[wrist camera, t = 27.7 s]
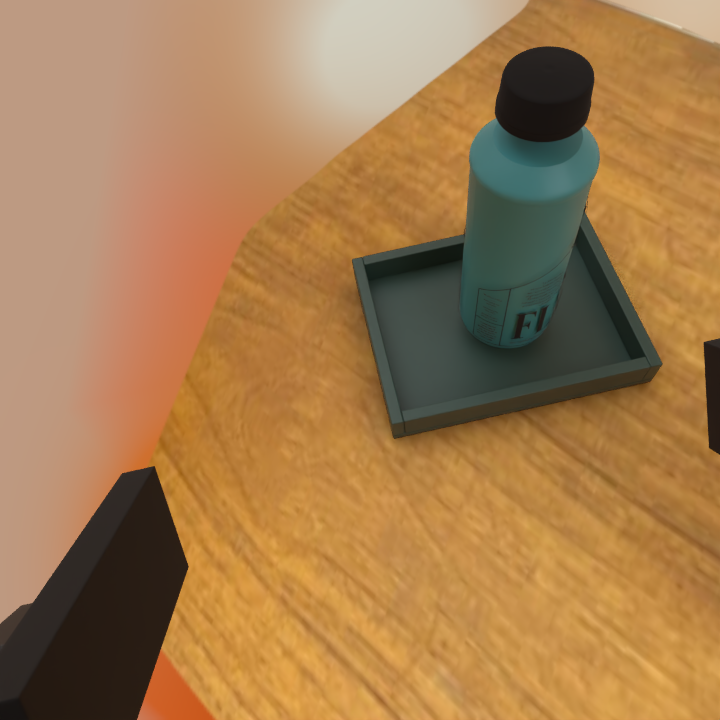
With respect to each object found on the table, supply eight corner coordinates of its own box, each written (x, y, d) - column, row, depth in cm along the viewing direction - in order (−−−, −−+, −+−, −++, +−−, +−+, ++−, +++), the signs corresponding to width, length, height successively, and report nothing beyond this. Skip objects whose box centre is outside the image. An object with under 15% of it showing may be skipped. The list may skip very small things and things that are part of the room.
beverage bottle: (505, 380, 41) (561, 147, 23) (436, 321, 43) (440, 74, 26) (569, 322, 42) (666, 65, 25) (498, 269, 45) (541, 4, 28)
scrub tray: (393, 439, 40) (391, 424, 38) (355, 278, 47) (351, 258, 44) (650, 381, 40) (663, 364, 38) (575, 229, 47) (583, 207, 45)
